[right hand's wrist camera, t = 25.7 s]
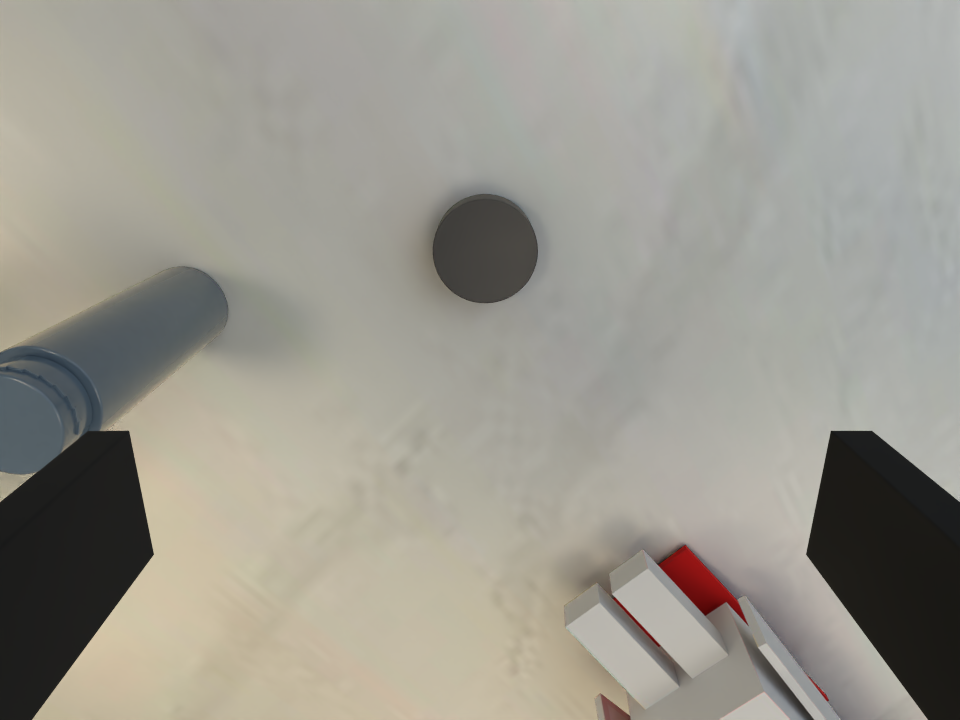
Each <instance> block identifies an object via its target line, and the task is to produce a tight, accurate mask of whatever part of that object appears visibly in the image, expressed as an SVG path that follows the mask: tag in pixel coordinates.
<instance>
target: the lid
mask: <svg viewBox="0 0 960 720" xmlns="http://www.w3.org/2000/svg"><path fill="white" fill-rule="evenodd" d="M537 255H538V247H537V240H536V236H535V233H534V230H533V228H532V226H531V224H530V222H529V220H528V218H527V217H526V215H525V214H524V212H523V211H522V210H521V209H520V208H519V207H518V206H517V205H515V204H514V203H512V202H511V201H509V200H507V199H505V198H503V197H500V196H496V195H491V194H481V195H474V196H470V197H468V198H465V199H463V200H461V201H459V202H458V203H456V204H455V205H454V206H452V207H451V208H450V209H449V210H448V211H447V213H446V214H445V215H444V217H443V218H442V220H441V222H440V224H439V227H438V229H437V232H436V235H435V239H434V244H433V259H434V264H435V267H436V270H437V272H438V275H439V276H440V278H441V280H442V281H443V282H444V284H445V285H446V286H447V287H448V288H449V289H450V290H451V291H452V292H454V293H455V294H456V295H458V296H460V297H462V298H464V299H466V300H469V301H472V302H478V303H493V302H498V301H501V300H504V299H507V298H509V297H511V296H512V295H514V294H515V293H517V292H518V291H519V290H520V289H522V288H523V287H524V285H525V284H526V283H527V282H528V280H529V279H530V277H531V275H532V273H533V271H534V269H535V266H536V262H537Z"/></svg>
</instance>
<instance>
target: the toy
mask: <svg viewBox="0 0 960 720" xmlns="http://www.w3.org/2000/svg"><path fill="white" fill-rule="evenodd" d="M609 577H610V584H611V590H612V594H613V595H614V596H615V597H614V598H613V599H612V598H611V597H610V596H609V595H608V593H607V592H606V591H605V590H604V589H603V588H602V587H601V586H600V585H599V584H598V583H595V584H594V585H593V586H591V587H590V588H588V589H587V590H586V591H584V592H583V593H581V594H580V595H579V596H577V597H576V598H574V599H573V600H572V601H570V602H569V603H568V604H566V605H565V606H564V611H565V628H566V629H567V630H568V631H569V632H570V633H571V634H572V635H573V636H574V637H575V638H576V639H577V640H578V641H579V642H580V643H581V644H582V645H583V646H584V647H585V648H586V649H587V650H588V651H589V652H590V653H591V654H592V656H593V657H594V658H595V659H596V660H597V661H598V662H599V663H600V664H601V665H602V666H603V667H604V668H605V669H606V670H607V671H608V672H609V673H610V674H611V675H612V676H613V677H614V678H615V679H616V680H617V681H618V682H619V683H620V684H621V685H622V687H623V688H624V689H625V690H626V692H627V698H628V705H629V711H630V716H629V715H628V714H627V713H625V712H624V711H623V710H621V709H620V708H619V707H618V706H616V705H615V704H614V703H612V702H611V701H610V700H608V699H607V698H606V697H605V696H603V695H602V694H601V693H600V694H599V695H598V696H597V697H596V698H595V703H596V709H597V715H598V720H841V719H840V718H839V716H838V715H837V714H836V713H835V711H834V710H833V709H832V707H831V706H830V705H829V704H828V702H827V701H829V700H828V698H827V696H826V694H825V693H824V692H823V691H822V690H821V689H820V688H819V687H818V686H817V685H816V684H815V683H814V682H813V681H812V680H811V678H810V677H809V676H808V675H807V674H806V673H805V672H804V671H803V670H802V669H801V667H800V666H799V665H798V663H797V662H796V661H795V659H794V658H793V657H792V656H791V654H790V653H789V652H788V650H787V649H786V648H785V646H784V645H783V644H782V643H781V641H780V640H779V639H778V637H777V636H776V635H775V634H774V632H773V631H772V630H771V628H770V627H769V626H768V624H767V623H766V622H765V621H764V619H763V618H762V617H761V615H760V614H759V613H758V612H757V610H756V609H755V608H754V606H753V605H752V604H751V602H750V601H749V600H748V599H747V597H746V596H743V597H741V598H739V599H737V600H738V601H737V600H736V598H735V597H734V596H733V595H732V594H731V593H730V592H729V591H728V590H727V589H726V588H725V587H724V586H723V585H722V584H721V582H720V581H719V580H718V579H717V578H716V577H715V576H714V575H713V574H712V573H711V572H710V571H709V570H708V569H707V568H706V566H705V565H704V564H703V563H702V562H701V561H700V560H699V559H698V558H697V557H696V556H695V555H694V554H693V553H692V552H691V550H690V549H689V548H688V547H687V546H686V545H685V546H683V547H682V548H680V549H679V550H678V551H676V552H675V553H674V554H672V555H671V556H670V557H668V558H667V559H666V560H664V561H663V562H662V563H660V564H659V565H657V564H656V563H655V562H654V561H653V559H652V558H651V557H650V556H649V555H648V554H647V553H646V552H645V551H644V550H641V551H640V552H638V553H637V554H636V555H634V556H633V557H631V558H630V559H629V560H627V561H626V562H624V563H623V564H622V565H620V566H619V567H618V568H616V569H615V570H613V571H612V572H611V573H609Z"/></svg>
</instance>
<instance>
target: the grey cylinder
mask: <svg viewBox="0 0 960 720" xmlns="http://www.w3.org/2000/svg"><path fill="white" fill-rule="evenodd" d="M227 317H228V306H227V302H226V298H225V296H224V294H223V292H222V290H221V288H220V287H219V286H218V284H217V283H216V282H215V281H214V280H213V279H212V278H211V277H209V276H208V275H206V274H205V273H203V272H201V271H199V270H196V269H193V268H189V267H173V268H169V269H166V270H164V271H162V272H160V273H158V274H156V275H154V276H152V277H150V278H148V279H146V280H144V281H142V282H140V283H138V284H136V285H134V286H132V287H130V288H128V289H126V290H124V291H122V292H120V293H118V294H116V295H114V296H112V297H110V298H108V299H106V300H104V301H102V302H100V303H98V304H96V305H94V306H92V307H90V308H88V309H86V310H84V311H82V312H80V313H78V314H76V315H74V316H72V317H70V318H68V319H66V320H64V321H62V322H60V323H58V324H56V325H54V326H52V327H50V328H48V329H46V330H44V331H42V332H40V333H38V334H36V335H34V336H32V337H30V338H28V339H26V340H24V341H22V342H20V343H18V344H16V345H14V346H12V347H10V348H8V349H6V350H4V351H2V352H0V471H1V472H5V473H10V474H30V473H35V472H38V471H39V470H41V469H42V468H43V467H44V466H46V465H47V464H48V463H49V462H50V461H52V460H53V459H54V458H55V457H57V456H58V455H59V454H60V453H62V452H63V451H64V450H65V449H66V448H68V447H69V446H70V445H71V444H73V443H74V442H75V441H76V440H78V439H79V438H80V437H81V436H82V435H84V434H85V433H86V432H87V431H107V430H108V429H109V428H110V427H111V426H112V425H114V424H115V423H116V422H117V421H118V420H119V419H121V418H122V417H123V416H124V415H125V414H126V413H128V412H129V411H130V410H131V409H132V408H134V407H135V406H136V405H137V404H138V403H139V402H141V401H142V400H143V399H144V398H145V397H146V396H148V395H149V394H150V393H151V392H152V391H154V390H155V389H156V388H157V387H158V386H159V385H161V384H162V383H163V382H164V381H165V380H166V379H168V378H169V377H170V376H171V375H172V374H173V373H175V372H176V371H177V370H178V369H179V368H181V367H182V366H183V365H184V364H185V363H186V362H188V361H189V360H190V359H191V358H192V357H193V356H195V355H196V354H197V353H198V352H199V351H200V350H202V349H203V348H204V347H205V346H206V345H208V344H209V343H210V342H211V341H212V340H213V339H215V338H216V337H217V336H218V335H219V334H220V333H221V331H222V330H223V329H224V327H225V324H226V321H227Z"/></svg>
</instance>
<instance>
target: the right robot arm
mask: <svg viewBox="0 0 960 720" xmlns="http://www.w3.org/2000/svg"><path fill="white" fill-rule="evenodd" d="M153 555H154V553H153V548H152V543H151V538H150V533H149V528H148V523H147V518H146V513H145V508H144V503H143V498H142V493H141V488H140V483H139V478H138V473H137V468H136V463H135V458H134V453H133V448H132V443H131V438H130V433H129V431H87V432H86V433H85V434H84V435H82V436H81V437H80V438H79V439H78V440H76V441H75V442H74V443H73V444H71V445H70V446H69V447H68V448H66V449H65V450H64V451H63V452H62V453H60V454H59V455H58V456H57V457H55V458H54V459H53V460H52V461H50V462H49V463H48V464H47V465H46V466H44V467H43V468H42V469H41V470H39V471H38V472H37V473H36V474H34V475H33V476H32V477H31V478H29V479H28V480H27V481H26V482H25V483H23V484H22V485H21V486H20V487H18V488H17V489H16V490H15V491H13V492H12V493H11V494H10V495H9V496H7V497H6V498H5V499H4V500H2V501H1V502H0V720H32V719H33V718H34V716H35V715H36V713H37V712H38V711H39V709H40V708H41V707H42V705H43V704H44V703H45V701H46V700H47V699H48V697H49V696H50V694H51V693H52V692H53V690H54V689H55V688H56V686H57V685H58V684H59V682H60V681H61V680H62V678H63V677H64V676H65V674H66V673H67V671H68V670H69V669H70V667H71V666H72V665H73V663H74V662H75V661H76V659H77V658H78V657H79V655H80V654H81V652H82V651H83V650H84V648H85V647H86V646H87V644H88V643H89V642H90V640H91V639H92V638H93V636H94V635H95V634H96V632H97V631H98V629H99V628H100V627H101V625H102V624H103V623H104V621H105V620H106V619H107V617H108V616H109V615H110V613H111V612H112V610H113V609H114V608H115V606H116V605H117V604H118V602H119V601H120V600H121V598H122V597H123V596H124V594H125V593H126V592H127V590H128V589H129V587H130V586H131V585H132V583H133V582H134V581H135V579H136V578H137V577H138V575H139V574H140V573H141V571H142V570H143V568H144V567H145V566H146V564H147V563H148V562H149V560H150V559H151V558H152V556H153ZM806 555H807V556H808V558H809V559H810V560H811V562H812V563H813V564H814V566H815V567H816V568H817V570H818V571H819V573H820V574H821V575H822V577H823V578H824V579H825V581H826V582H827V583H828V585H829V586H830V587H831V589H832V590H833V592H834V593H835V594H836V596H837V597H838V598H839V600H840V601H841V602H842V604H843V605H844V606H845V608H846V609H847V610H848V612H849V613H850V615H851V616H852V617H853V619H854V620H855V621H856V623H857V624H858V625H859V627H860V628H861V629H862V631H863V632H864V634H865V635H866V636H867V638H868V639H869V640H870V642H871V643H872V644H873V646H874V647H875V648H876V650H877V651H878V652H879V654H880V655H881V657H882V658H883V659H884V661H885V662H886V663H887V665H888V666H889V667H890V669H891V670H892V671H893V673H894V674H895V676H896V677H897V678H898V680H899V681H900V682H901V684H902V685H903V686H904V688H905V689H906V690H907V692H908V693H909V694H910V696H911V697H912V699H913V700H914V701H915V703H916V704H917V705H918V707H919V708H920V709H921V711H922V712H923V713H924V715H925V716H926V718H927V719H928V720H960V502H959V501H958V500H956V499H955V498H954V497H953V496H951V495H950V494H949V493H948V492H947V491H945V490H944V489H943V488H942V487H940V486H939V485H938V484H937V483H935V482H934V481H933V480H932V479H931V478H929V477H928V476H927V475H926V474H924V473H923V472H922V471H921V470H919V469H918V468H917V467H916V466H914V465H913V464H912V463H911V462H910V461H908V460H907V459H906V458H905V457H903V456H902V455H901V454H900V453H898V452H897V451H896V450H895V449H894V448H892V447H891V446H890V445H889V444H887V443H886V442H885V441H884V440H882V439H881V438H880V437H879V436H878V435H876V434H875V433H874V432H873V431H831V433H830V438H829V443H828V448H827V453H826V458H825V463H824V468H823V473H822V478H821V483H820V488H819V493H818V498H817V503H816V508H815V513H814V518H813V523H812V528H811V533H810V538H809V543H808V548H807V553H806Z"/></svg>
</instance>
